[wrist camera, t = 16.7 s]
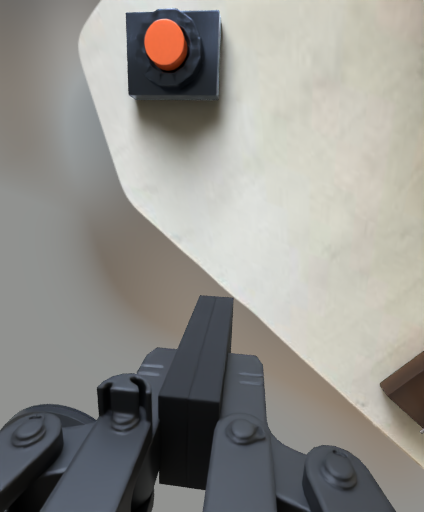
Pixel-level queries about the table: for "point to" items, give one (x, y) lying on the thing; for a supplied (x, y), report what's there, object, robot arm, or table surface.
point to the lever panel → (408, 389)
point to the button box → (190, 71)
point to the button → (165, 44)
